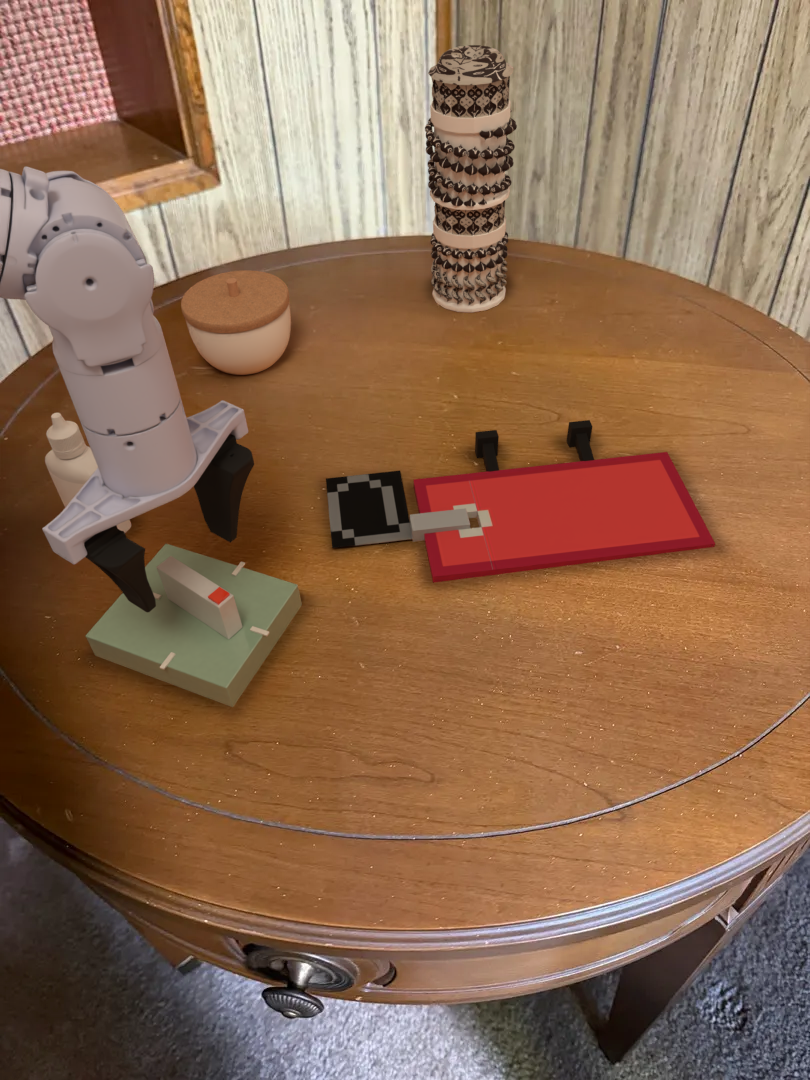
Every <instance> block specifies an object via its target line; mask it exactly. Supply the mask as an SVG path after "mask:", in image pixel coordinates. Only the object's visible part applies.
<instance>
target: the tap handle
mask: <svg viewBox="0 0 810 1080" xmlns="http://www.w3.org/2000/svg"><path fill="white" fill-rule="evenodd" d="M156 568H157V570H158V573H159V576H160V578H161V581H162V584H163V586H164V589H165V592H166V594H167V597H168V599H169V600H171V601H172V602H174V603H175V604H177V605H178V606H180V607H181V608H183V609H184V610H186V611H187V612H188V613H190V614H191V615H193V616H194V617H196V618H197V619H199V620H200V621H202V622H203V623H205V624H206V625H208V626H209V627H211V628H212V629H214V630H215V631H217V632H218V633H220V634H221V635H223V636H224V637H226V638H227V639H230V638H231V637H232V636H233V635H235V634H236V633H237V632H238V631H239V630H240V629H241V628H242V627H243V626H242V623H241V620H240V616H239V613H238V609H237V606H236V602H235V599H234V596H233V595H232V594H231V593H229V592H227V591H226V590H224V589H223V588H221V587H219V586H218V585H216V584H215V583H213V582H212V581H210V580H208V579H207V578H205V577H204V576H202V575H201V574H199V573H197V572H196V571H194V570H193V569H191V568H189V567H188V566H186V565H185V564H183V563H182V562H180V561H178V560H177V559H175V558H174V557H172V556H170V557H169V558H167V559H166V560H165V561H164V562H162V563H161V564H160V565H158V566H157V567H156Z"/></svg>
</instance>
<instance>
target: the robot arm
mask: <svg viewBox="0 0 810 1080" xmlns="http://www.w3.org/2000/svg"><path fill="white" fill-rule="evenodd" d="M21 173H22V174H20V173H16V172H13V171H8V170H7V169H6V170H5V169H2V168H0V299H5V300H22V301H26V304H27V305H28V307H29V309H30V310H31V311H32V312H33V314H35V316H36V317H37V318H38V319H39V320H40V321H41V322H42V323H44V324H45V325H47V327H48V328H49V332H50V334H51V336H52V341H51V345H52V353H53V356H54V358H55V361H56V364H57V366H58V369H59V372H60V374H61V376H62V380H63V382H64V384H65V387H66V389H67V391H68V394H69V396H70V399H71V402H72V404H73V407H74V410H75V412H76V415H77V417H78V419H79V422H80V425H81V428H82V430H83V432H84V435H85V437H86V441H87V443H88V445H89V447H90V448H91V451H92V453H93V456H94V458H95V461H96V463H97V466H98V468H97V469H96V471H95V472H94V473H93V474H92V476H91V477H90V478H89V479H88V480H87V482H86V483H85V484H84V485H83V487H82V488H81V489H80V490H79V492H78V493H77V494H76V495H75V496H74V498H73V499H72V500H71V501H70V503H69V504H68V505H67V506H66V508H65V507H64V508H63V510H62V511H60V513H59V514H58V515H56V516H55V518H53V519H52V520H51V521H50V522H48V523H47V524H46V525H45V526H43V527H42V532H43V533H44V536H45V538H46V540H47V542H48V544H49V546H50V548H51V550H52V552H53V553H55V554H56V555H57V556H59V557H60V558H62V559H64V560H65V561H67V562H69V563H70V564H72V565H77V564H78V563H79V562H81V561H82V560H83V559H87V560H88V561H90V562H91V563H93V564H94V565H95V566H96V567H98V569H100V570H101V571H102V572H103V573H104V574H105V575H106V576H108V578H110V580H111V581H112V582H113V583H114V584H115V585H116V586H117V587H118V589H119V590H120V591H121V592H122V593H123V594H124V595H125V596H126V598H127V599H128V601H130V602H131V603H133V604H134V605H136V606H137V607H139V608H141V609H142V610H144V611H145V612H150V611H151V610H152V609H153V608H155V607H156V601H155V597H154V594H153V592H152V589H151V587H150V584H149V582H148V579H147V576H146V571H145V567H146V565H145V563H146V562H145V555H146V548H145V547H143V546H141V545H140V544H138V543H137V542H135V541H133V540H131V539H130V538H128V537H127V536H126V533H124V531H121V530H119V529H118V528H117V526H116V525H118V524H120V523H122V522H125V521H127V520H129V519H130V520H131V519H134V518H137V517H139V516H141V515H143V514H145V513H147V512H150V511H152V510H155V509H156V508H157V509H158V508H159V507H161V506H164V505H166V504H169V503H170V502H173V501H175V500H177V499H178V498H181V497H182V496H184V495H185V494H186V493H188V492H189V491H190V490H191V489H194V491H195V494H196V496H197V500H198V503H199V506H200V509H201V513H202V516H203V519H204V521H205V524H206V526H207V528H208V530H209V532H210V533H212V534H214V535H215V536H217V537H219V538H221V539H223V540H225V541H227V542H228V543H233V541H234V540H236V539H237V538H238V537H237V536H238V527H239V525H238V524H239V517H240V516H239V514H240V507H241V501H242V497H243V492H244V489H245V487H246V486H245V485H246V483H247V480H248V478H249V475H250V474H251V471H252V470H253V469H254V466H255V461H254V455H253V452H252V451H251V449H249V448H248V447H246V446H244V445H241V444H239V443H238V442H237V440H240V439H242V438H243V437H245V436H246V435H247V434H249V428H248V423H247V419H246V415H245V414H246V413H245V410H244V409H243V408H242V407H239V406H237V405H235V404H233V403H230V402H228V401H226V400H223V399H222V400H220V401H218V402H217V403H215V404H214V405H212V406H210V407H208V408H207V409H204V410H202V411H200V412H197V413H195V414H193V415H190V416H188V417H187V416H186V415H187V414H186V411H185V407H184V404H183V400H182V397H181V392H180V389H179V386H178V381H177V378H176V375H175V371H174V367H173V364H172V361H171V357H170V354H169V351H168V347H167V343H166V340H165V336H164V332H163V329H162V326H161V323H160V322H159V320H158V319H157V318H156V316H155V315H154V313H155V311H154V309H155V307H154V303H153V300H152V297H153V293H154V287H155V273H154V267H153V266H152V264H150V263H148V262H147V258H146V256H145V254H144V250H143V249H142V247H141V245H140V244H139V241H138V239H137V237H136V235H135V233H134V231H133V229H132V227H131V225H130V223H129V221H128V219H127V217H126V215H125V213H124V211H123V209H122V208H121V206H120V205H119V204H118V203H117V201H115V199H114V198H113V197H112V195H110V193H108V191H106V190H105V189H104V188H102V187H101V186H100V185H98V184H96V183H95V182H92V181H91V180H88V179H85V178H83V177H82V176H80V175H79V174H78V173H77V172H75V171H73V170H53V171H49V172H45V171H42V170H40V169H37V168H33V167H29V166H24V167H23V169H22V172H21Z"/></svg>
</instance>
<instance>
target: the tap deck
mask: <svg viewBox="0 0 810 1080" xmlns="http://www.w3.org/2000/svg"><path fill="white" fill-rule="evenodd" d="M170 556H172V557H174V558H175V559H177V560H178V561H180V562H182V563H183V564H185V565H186V566H188V567H189V568H191V569H193V570H194V571H196V572H197V573H199V574H201V575H202V576H204V577H205V578H207V579H208V580H210V581H212V582H213V583H215V584H216V585H218V586H219V587H221V588H223V589H224V590H226V591H227V592H229V593H231V594H232V595H233V596H234V599H235V602H236V606H237V609H238V613H239V616H240V620H241V623H242V626H243V627H242V628H241V629H240V630H239V631H238V632H237V633H236V634H235V635H233V636H232V637H231V638H230V639H227V638H226V637H224V636H223V635H221V634H220V633H218V632H217V631H215V630H214V629H212V628H211V627H209V626H208V625H206V624H205V623H203V622H202V621H200V620H199V619H197V618H196V617H194V616H193V615H191V614H190V613H188V612H187V611H186V610H184V609H183V608H181V607H180V606H178V605H177V604H175V603H174V602H172V601H171V600H169V599H168V597H167V594H166V592H165V589H164V586H163V584H162V581H161V578H160V576H159V573H158V570H157V568H156V567H157V566H158V565H160V564H161V563H162V562H164V561H165V560H166V559H167V558H169V557H170ZM245 565H246V561H245V562H244V561H240V562H239V564H238V565H237V564H234V563H230V562H227V561H223V560H221V559H217V558H215V557H211V556H208V555H204V554H203V553H202V554H201V553H198V552H195V551H193V550H188V549H185V548H182V547H179V546H176V545H172V544H171V543H170V544H169V543H165V544H164V545H163V546H162V547H161V548H160V549H159V550H158V552H157V553H156V554H155V555H154V556H153V557H152V559H150V561H149V562H148V563H147V564H146V565H145V571H146V576H147V579H148V582H149V584H150V587H151V589H152V592H153V594H154V597H155V601H156V607H155V608H153V609H152V610H151V611H150V612H145V611H144V610H142V609H141V608H139V607H137V606H136V605H134V604H133V603H131V602H130V601H128V599H127V598H126V596H125V595H124V594H123V592H122V593H121V594H120V595H119V596H118V597H117V598H116V600H115V601H114V602H113V603H112V604H111V605H110V606H109V608H108V609H107V610H106V611H105V613H104V614H103V615H102V616H101V617H100V618H99V619H98V620H97V621H96V622H95V624H94V625H93V626H92V627H91V628H90V629H89V631H88V632H87V633H86V634H85V638H86V640H87V643H88V644H89V646H90V648H91V650H92V652H93V654H94V656H95V657H98V658H101V659H103V660H106V661H108V662H111V663H114V664H116V665H119V666H122V667H124V668H127V669H130V670H132V671H135V672H137V673H141V674H143V675H145V676H148V677H151V678H153V679H156V680H159V681H161V682H164V683H167V684H170V685H172V686H175V687H177V688H180V689H183V690H185V691H188V692H191V693H193V694H196V695H199V696H202V697H204V698H206V699H210V700H212V701H215V702H217V703H220V704H223V705H225V706H228V707H230V708H233V707H235V706H236V704H237V703H238V701H239V700H240V698H241V697H242V695H243V693H244V692H245V691H246V690H247V687H249V685H250V683H251V681H252V680H253V678H254V677H255V676H256V674H257V673H258V671H259V670H260V668H261V666H262V665H263V664H264V662H265V661H266V659H267V658H268V656H269V655H270V653H271V652H272V650H273V649H274V648H275V646H276V644H277V643H278V641H279V640H280V638H281V637H282V636H283V634H284V633H285V631H286V630H287V628H288V627H289V625H290V624H291V622H292V621H293V619H294V617H295V616H296V615H297V613H298V612H299V610H300V609H301V607H302V606H303V602H302V598H301V593H300V589H299V588H300V587H299V585H298V584H297V583H294V582H290V581H287V580H285V579H281V578H278V577H274V576H271V575H269V574H265V573H262V572H259V571H255V570H253V569H249V568H246V567H245Z"/></svg>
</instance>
